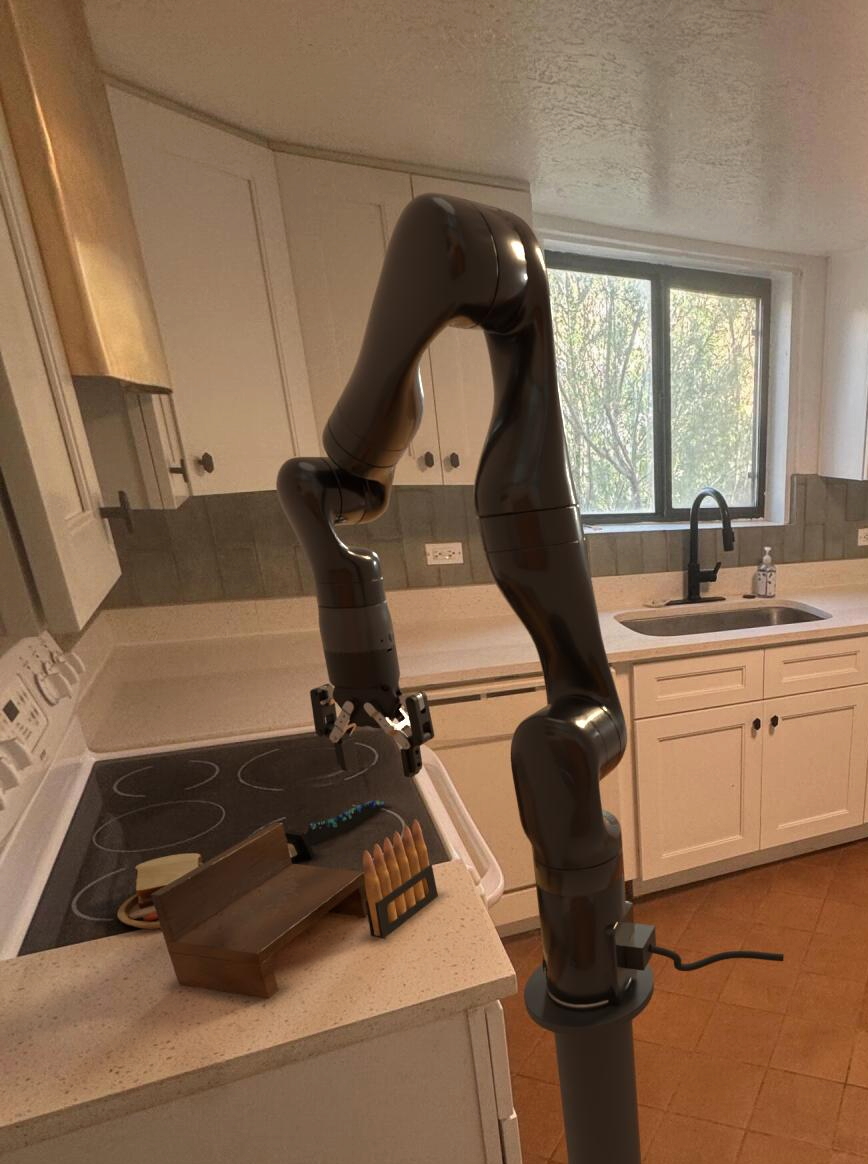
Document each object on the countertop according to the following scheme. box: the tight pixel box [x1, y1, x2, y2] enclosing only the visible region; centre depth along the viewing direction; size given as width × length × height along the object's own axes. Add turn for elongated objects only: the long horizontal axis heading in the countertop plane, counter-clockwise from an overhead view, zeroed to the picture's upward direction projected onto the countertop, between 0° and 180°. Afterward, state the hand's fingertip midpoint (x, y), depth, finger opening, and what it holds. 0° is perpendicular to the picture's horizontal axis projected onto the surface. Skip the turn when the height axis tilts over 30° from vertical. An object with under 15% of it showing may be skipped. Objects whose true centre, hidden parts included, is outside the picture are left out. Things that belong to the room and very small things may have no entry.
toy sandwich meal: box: [117, 852, 203, 930], centre depth 105 cm, size 12×14×5 cm
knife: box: [285, 799, 387, 860], centre depth 119 cm, size 31×3×4 cm, turn 162°
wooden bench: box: [151, 822, 368, 999], centre depth 95 cm, size 12×18×12 cm, turn 168°
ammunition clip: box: [362, 818, 439, 939], centre depth 101 cm, size 11×2×12 cm, turn 163°
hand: (381, 771), depth 95 cm, fingers open, 8 cm apart
